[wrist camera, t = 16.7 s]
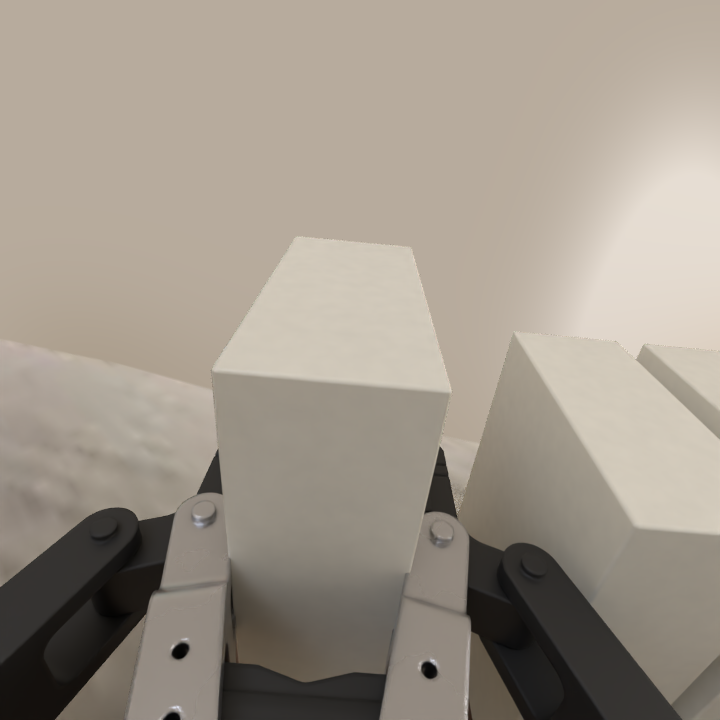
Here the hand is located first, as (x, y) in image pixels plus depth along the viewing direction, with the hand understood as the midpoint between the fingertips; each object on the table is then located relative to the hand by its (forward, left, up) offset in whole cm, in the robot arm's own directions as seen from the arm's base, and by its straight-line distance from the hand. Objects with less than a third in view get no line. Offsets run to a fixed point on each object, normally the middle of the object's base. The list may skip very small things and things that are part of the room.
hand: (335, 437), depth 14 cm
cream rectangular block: (+7, -1, -9) cm, 12 cm away
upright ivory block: (0, -1, -6) cm, 7 cm away
